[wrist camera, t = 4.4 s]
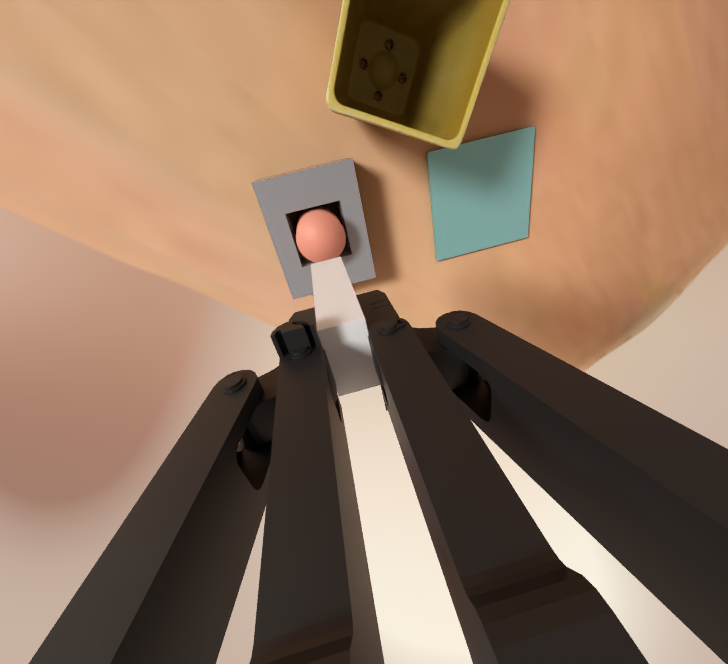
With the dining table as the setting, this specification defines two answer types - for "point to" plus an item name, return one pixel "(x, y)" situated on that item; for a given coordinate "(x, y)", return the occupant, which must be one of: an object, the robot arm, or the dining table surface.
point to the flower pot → (414, 64)
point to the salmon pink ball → (320, 234)
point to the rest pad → (481, 192)
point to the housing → (305, 193)
